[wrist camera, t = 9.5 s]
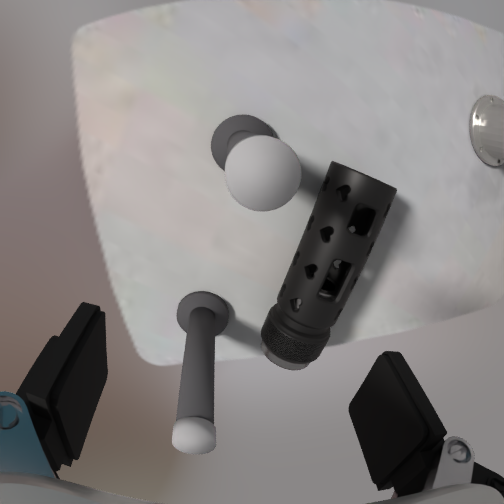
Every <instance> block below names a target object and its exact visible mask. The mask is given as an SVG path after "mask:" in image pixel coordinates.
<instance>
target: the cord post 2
mask: <svg viewBox="0 0 504 504" xmlns="http://www.w3.org/2000/svg"><path fill="white" fill-rule="evenodd" d="M211 151H212V155H213V157H214V160H215V161H216V163H217V164H218V165H219V167H220V168H222V169H223V170H224V171H225V182H226V186H227V188H228V191H229V192H230V194H231V196H232V197H233V198H234V199H235V200H236V201H237V202H238V203H239V204H240V205H242V206H244V207H246V208H248V209H251V210H254V211H271V210H274V209H277V208H279V207H281V206H283V205H285V204H286V203H287V202H288V201H290V200H291V199H292V197H293V196H294V195H295V193H296V192H297V190H298V188H299V185H300V181H301V166H300V162H299V159H298V157H297V155H296V154H295V152H294V151H293V150H292V148H291V147H290V146H288V145H287V144H286V143H284V142H283V141H281V140H279V139H276V138H273V135H272V132H271V130H270V129H269V127H268V126H267V125H266V124H265V123H264V122H263V121H261V120H260V119H258V118H256V117H254V116H250V115H236V116H233V117H230V118H228V119H226V120H225V121H223V122H222V123H221V124H220V125H219V126H218V127H217V129H216V130H215V132H214V134H213V137H212V141H211Z"/></svg>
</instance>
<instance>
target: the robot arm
mask: <svg viewBox="0 0 504 504" xmlns="http://www.w3.org/2000/svg"><path fill="white" fill-rule="evenodd" d="M470 136H471V141H472V145H473V147H474V150H475V152H476V153H477V155H478V156H479V158H480V159H481V160H482V161H483V162H485V163H487V164H489V165H492V166H499V165H502V164H504V101H503V100H502V99H500V98H499V97H497V96H492V95H487V96H483V97H481V98H480V99H479V100H478V101H477V102H476V103H475V105H474V107H473V109H472V113H471V116H470ZM107 374H108V369H107V352H106V326H105V312H102V311H100V307H99V306H97V305H93V304H89V303H85V302H83V303H81V305H80V306H79V307H78V309H77V310H76V312H75V313H74V315H73V316H72V318H71V319H70V321H69V322H68V324H67V325H66V327H65V328H64V330H63V331H62V333H61V334H60V336H59V337H58V336H52V337H51V338H50V339H49V341H48V342H47V344H46V345H45V347H44V349H43V350H42V352H41V353H40V355H39V356H38V358H37V360H36V361H35V363H34V365H33V366H32V368H31V369H30V371H29V372H28V374H27V376H26V377H25V379H24V381H23V382H22V384H21V386H20V388H19V389H18V391H17V393H16V394H14V393H11V392H6V391H2V392H0V504H163V503H157V502H151V501H146V500H141V499H136V498H131V497H127V496H122V495H118V494H114V493H110V492H106V491H102V490H98V489H95V488H91V487H87V486H83V485H79V484H75V483H72V482H68V481H64V480H60V478H59V476H58V474H57V471H58V470H60V467H61V465H62V464H64V465H67V466H70V467H71V464H72V461H73V459H75V460H78V459H79V457H80V454H81V451H82V448H83V445H84V442H85V439H86V436H87V433H88V430H89V427H90V424H91V421H92V418H93V415H94V412H95V410H96V407H97V404H98V401H99V399H100V396H101V393H102V391H103V388H104V386H105V383H106V380H107ZM349 414H350V417H351V420H352V423H353V426H354V428H355V431H356V434H357V437H358V440H359V443H360V446H361V449H362V452H363V455H364V458H365V461H366V464H367V467H368V470H369V473H370V476H371V479H372V481H373V483H374V484H376V485H377V488H378V491H380V490H385V489H390V488H391V487H394V490H395V491H394V493H393V495H392V497H391V499H389V500H383V501H378V502H373V503H367V504H504V478H503V477H502V476H500V475H499V474H497V473H495V472H493V471H491V470H489V469H487V468H485V467H483V466H481V465H480V464H478V463H476V462H474V451H473V449H472V447H471V446H470V444H469V443H468V442H467V441H465V440H464V439H462V438H460V437H455V436H453V437H449V438H448V439H447V440H445V441H444V439H443V437H444V436H445V435H446V434H447V431H446V429H445V428H444V426H443V424H442V422H441V420H440V419H439V417H438V415H437V413H436V411H435V410H434V408H433V406H432V404H431V403H430V401H429V399H428V398H427V396H426V394H425V392H424V391H423V389H422V387H421V386H420V384H419V382H418V380H417V379H416V377H415V375H414V374H413V372H412V370H411V369H410V367H409V365H408V364H407V362H406V361H405V359H404V357H403V356H402V354H401V353H400V352H393V351H385V352H383V353H382V355H379V356H378V358H377V359H376V362H375V363H374V365H373V366H372V368H371V370H370V372H369V373H368V375H367V377H366V378H365V380H364V382H363V384H362V385H361V387H360V388H359V390H358V392H357V393H356V395H355V396H354V398H353V399H352V401H351V403H350V404H349Z"/></svg>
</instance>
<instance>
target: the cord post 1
mask: <svg viewBox="0 0 504 504" xmlns="http://www.w3.org/2000/svg"><path fill="white" fill-rule="evenodd" d="M177 321H178V323H179V325H180V327H181V328H182V329H183V330H184V331H185V332H186V333H187V337H186V344H185V351H184V359H183V366H182V374H181V382H180V390H179V399H178V408H177V417H176V422H175V423H174V427H173V437H172V444H173V446H174V447H175V448H177V449H178V450H180V451H182V452H185V453H189V454H205V453H209V452H211V451H212V450H214V448H215V447H216V428H215V426H214V360H215V336H216V335H218V334H219V333H221V332H222V331H223V330H224V329H225V328H226V326H227V323H228V308H227V305H226V304H225V302H224V301H223V300H222V299H221V298H220V297H219V296H217V295H215V294H213V293H210V292H205V291H198V292H193V293H190V294H188V295H187V296H185V297H184V298H183V299H182V300H181V302H180V303H179V306H178V310H177Z"/></svg>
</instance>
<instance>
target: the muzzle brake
mask: <svg viewBox="0 0 504 504" xmlns="http://www.w3.org/2000/svg"><path fill="white" fill-rule="evenodd" d="M396 192H397V189H396V188H394V187H392V186H390V185H388V184H386V183H383V182H381V181H379V180H377V179H374V178H372V177H370V176H368V175H365V174H363V173H361V172H358V171H356V170H354V169H351V168H349V167H346V166H344V165H342V164H339V163H337V162H334V161H332V162H331V164H330V166H329V169H328V172H327V174H326V177H325V180H324V182H323V185H322V188H321V190H320V193H319V195H318V198H317V201H316V203H315V206H314V208H313V211H312V213H311V216H310V218H309V221H308V224H307V226H306V229H305V231H304V234H303V236H302V239H301V241H300V244H299V246H298V248H297V251H296V253H295V256H294V258H293V261H292V263H291V266H290V268H289V270H288V273H287V275H286V278H285V280H284V283H283V285H282V287H281V290H280V292H279V294H278V297H277V302H278V303H277V304H275V305H274V306H273V307H272V308H271V309H270V311H269V313H268V315H267V318H266V320H265V322H264V325H263V327H262V330H261V337H262V342H261V348H262V351H263V353H264V355H265V356H266V357H267V358H268V359H269V360H270V361H271V362H273V363H274V364H276V365H278V366H280V367H282V368H285V369H289V370H301V369H303V368H305V367H307V366H308V365H309V363H310V362H312V361H314V360H316V359H317V358H318V357H319V356H320V354H321V352H322V350H323V349H324V347H325V345H326V343H327V341H328V340H329V337H330V327H332V326H333V325H334V324H335V323H336V321H337V319H338V317H339V315H340V313H341V311H342V309H343V307H344V305H345V304H346V302H347V300H348V298H349V296H350V294H351V292H352V290H353V288H354V286H355V284H356V281H357V280H358V277H359V275H360V273H361V271H362V269H363V267H364V265H365V263H366V261H367V259H368V256H369V254H370V252H371V250H372V247H373V246H374V243H375V241H376V239H377V237H378V234H379V232H380V230H381V227H382V225H383V223H384V221H385V218H386V216H387V213H388V211H389V209H390V206H391V204H392V201H393V199H394V197H395V194H396ZM351 226H354V227H355V232H353V233H352V232H350V231H349V229H348V228H349V227H351ZM335 260H341V263H340V264H339V268H335V266H334V263H333V262H334V261H335Z"/></svg>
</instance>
